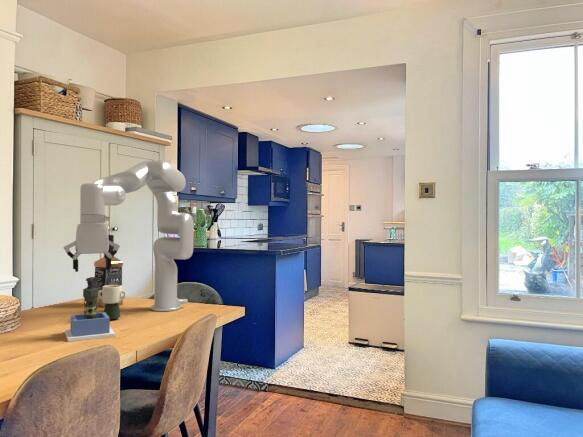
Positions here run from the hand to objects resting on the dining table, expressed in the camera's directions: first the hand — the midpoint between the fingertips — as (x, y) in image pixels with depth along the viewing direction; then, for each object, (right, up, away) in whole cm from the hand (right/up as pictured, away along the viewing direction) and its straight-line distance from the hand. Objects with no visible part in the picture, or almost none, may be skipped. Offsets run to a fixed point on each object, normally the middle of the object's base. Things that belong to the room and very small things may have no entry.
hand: (92, 270), depth 149 cm
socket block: (-1, -21, -1) cm, 21 cm away
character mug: (-3, -22, +22) cm, 31 cm away
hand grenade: (0, -21, 0) cm, 21 cm away
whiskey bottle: (-16, -22, +51) cm, 58 cm away
